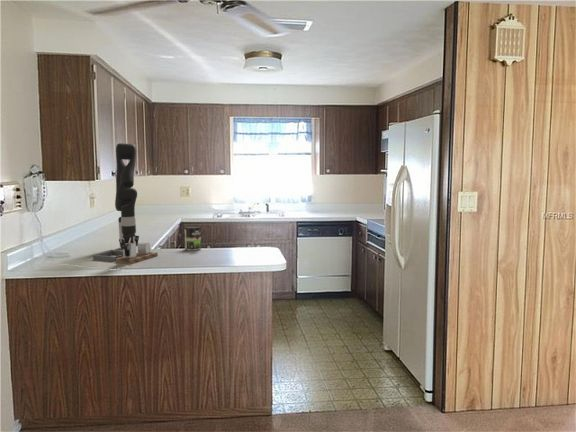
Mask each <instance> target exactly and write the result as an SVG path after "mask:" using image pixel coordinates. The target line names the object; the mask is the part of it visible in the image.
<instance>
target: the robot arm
mask: <svg viewBox="0 0 576 432" xmlns="http://www.w3.org/2000/svg"><path fill="white" fill-rule="evenodd" d="M115 158H116V159H115V160H116V173H115V189H116V190H115V192H116V193H115V200H114V202H115V203H114V207H115V210H116V211H117V212H120V216H119V217H118V220H117V221H118V234H119V235H118V237H119V238H118V242H119V249H120V250H123V249H124V251H125V256H129V250H128V249H129V244H130V243H136V247H138V243H139V239H140V236H139V235H136V233H137V225H136V223H137V221H136V217H135V216H136V215H135V211H136V210H135V207H136V201H137V198H138V191H137V190H136V188H134V186H135V183H134V181H135V179H134V176H135V169H136V168H135V167H136V160H137V147H136V145H135V144H134V143H120V142H119V143H117V144H116V147H115ZM123 160H125V161H126V160H127V161H128V163H127V164H126V163H125V162H124V161H123ZM126 243H128V244H126ZM126 245H127V247H126ZM123 246H124V247H123Z"/></svg>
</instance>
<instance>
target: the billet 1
mask: <svg viewBox="0 0 576 432" xmlns="http://www.w3.org/2000/svg"><path fill="white" fill-rule="evenodd" d="M126 244H128V243H126ZM123 247H124V246H123ZM126 247H127V245H126ZM128 250H129V256H125V251H124V249H122V251H123V257H124V258H126V259H133V258H137V257H136V253H137V246H136V243H130V244H129V249H128Z"/></svg>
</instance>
